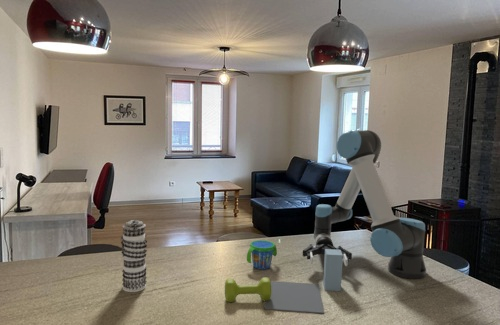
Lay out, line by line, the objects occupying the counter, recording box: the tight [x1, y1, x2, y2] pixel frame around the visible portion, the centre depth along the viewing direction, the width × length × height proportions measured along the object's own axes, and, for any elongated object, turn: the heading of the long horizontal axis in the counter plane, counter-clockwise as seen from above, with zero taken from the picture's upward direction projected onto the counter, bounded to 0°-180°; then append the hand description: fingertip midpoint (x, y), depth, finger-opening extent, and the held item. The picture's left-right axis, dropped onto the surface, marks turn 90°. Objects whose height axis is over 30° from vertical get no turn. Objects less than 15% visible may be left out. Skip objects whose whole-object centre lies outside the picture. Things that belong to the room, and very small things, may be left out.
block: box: [322, 249, 344, 292], centre depth 146 cm, size 6×6×14 cm
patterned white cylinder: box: [120, 219, 148, 293], centre depth 141 cm, size 9×9×25 cm
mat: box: [263, 280, 325, 315], centre depth 139 cm, size 20×22×1 cm
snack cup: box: [246, 239, 278, 270], centre depth 165 cm, size 16×10×10 cm
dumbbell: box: [224, 276, 272, 303], centre depth 135 cm, size 16×8×7 cm, turn 93°
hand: (329, 261), depth 152 cm, fingers open, 13 cm apart
